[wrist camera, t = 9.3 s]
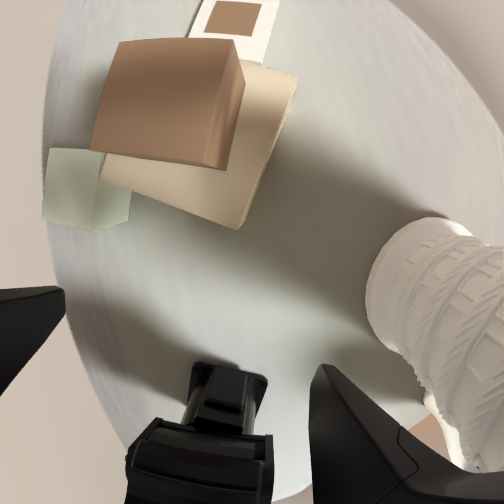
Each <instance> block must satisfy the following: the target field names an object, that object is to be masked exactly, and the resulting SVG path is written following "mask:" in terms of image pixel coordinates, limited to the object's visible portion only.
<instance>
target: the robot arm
mask: <svg viewBox="0 0 504 504" xmlns="http://www.w3.org/2000/svg"><path fill="white" fill-rule="evenodd" d="M65 312H66V306H65V292H64V290H63V289H62V288H60V287H57V286H41V287H27V288H12V289H0V396H1V395H2V394H3V392H4V391H5V390H6V388H7V387H8V386H9V384H10V383H11V382H12V381H13V379H14V378H15V377H16V376H17V374H18V373H19V372H20V371H21V369H22V368H23V367H24V366H25V365H26V363H27V362H28V361H29V360H30V359H31V358H32V356H33V355H34V354H35V353H36V352H37V351H38V349H39V348H40V347H41V346H42V345H43V344H44V342H45V341H46V340H47V338H48V337H49V335H50V334H51V333H52V331H53V330H54V329H55V327H56V326H57V324H58V323H59V322H60V321H61V319H62V318H63V317H64V315H65ZM197 367H200V368H201V369H198V368H197ZM260 382H264V383H263V384H261V383H260ZM267 386H268V380H267V379H266V378H264V377H260V376H255V375H251V374H246V373H241V372H237V371H233V370H229V369H225V368H220V367H217V366H213V365H209V364H205V363H201V362H195V363H194V365H193V367H192V372H191V379H190V386H189V393H188V401H187V408H186V410H185V413H184V415H183V418H182V420H181V423H180V424H179V423H174V422H169V421H165V420H163V419H162V418H158V417H156V418H155V419H154V420H153V421H152V422H151V423H150V424H149V425H148V427H147V428H146V429H145V430H144V431H143V432H142V433H141V434H140V436H139V437H138V438H137V439H136V440H135V441H134V442H133V443H132V445H131V446H130V447H129V448H128V454H127V455H126V456H125V461H126V466H125V469H126V471H125V472H126V477H127V480H128V486H127V493H126V498H125V503H124V504H271V500H272V494H273V485H274V450H273V435H265V436H263V435H253V431H254V421H255V418H256V415H257V412H258V410H259V407H260V405H261V402H262V399H263V397H264V394H265V391H266V388H267ZM308 428H309V443H310V455H311V469H312V485H313V501H314V502H313V503H314V504H504V471H498V472H488V473H472V472H468V471H465V470H463V469H461V468H459V467H458V466H456V465H455V464H453V463H452V462H450V461H448V460H447V459H445V458H444V457H442V456H441V455H439V454H438V453H436V452H435V451H434V450H432V449H431V448H429V447H428V446H426V445H425V444H424V443H422V442H421V441H420V440H418V439H417V438H416V437H415V436H413V435H412V434H411V433H410V432H408V431H407V430H406V429H405V428H404V427H403V426H400V424H399V423H398V422H397V421H396V420H394V419H393V418H392V417H391V416H390V415H389V414H387V413H386V412H385V411H384V410H383V409H382V408H381V407H379V406H378V405H377V404H376V403H375V402H374V401H373V400H371V399H370V398H369V397H368V396H367V395H366V394H365V393H363V392H362V391H361V390H360V389H359V388H358V387H357V386H356V385H354V384H353V383H352V382H351V381H350V380H349V379H348V378H347V377H346V376H344V375H343V374H342V373H341V372H340V371H339V370H338V369H337V368H336V367H335V366H333V365H329V364H321V365H320V366H319V367H318V369H317V371H316V374H315V376H314V378H313V380H312V383H311V386H310V399H309V427H308Z"/></svg>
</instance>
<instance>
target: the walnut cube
mask: <svg viewBox="0 0 504 504" xmlns="http://www.w3.org/2000/svg"><path fill="white" fill-rule="evenodd" d="M245 85H246V83H245V79H244V75H243V72H242V68H241V65H240V61H239V58H238V54H237V51H236V47H235V44H234V40H233V39H221V38H158V39H144V40H134V41H125V42H120V43H119V45H118V48H117V50H116V53H115V56H114V59H113V61H112V64H111V67H110V70H109V73H108V76H107V79H106V82H105V86H104V89H103V92H102V96H101V99H100V103H99V107H98V111H97V115H96V119H95V123H94V127H93V132H92V137H91V142H90V147H89V151H95V152H102V153H109V154H115V155H121V156H127V157H133V158H139V159H146V160H155V161H163V162H170V163H178V164H185V165H191V166H198V167H204V168H210V169H216V170H222V171H227V166H228V161H229V156H230V151H231V146H232V142H233V137H234V133H235V128H236V124H237V119H238V115H239V110H240V106H241V102H242V97H243V93H244V89H245Z"/></svg>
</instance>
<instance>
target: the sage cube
mask: <svg viewBox="0 0 504 504" xmlns="http://www.w3.org/2000/svg"><path fill="white" fill-rule="evenodd" d="M106 155H107V153H102V152H95V151H89V149H71V148H50V149H49V155H48V161H47V168H46V175H45V183H44V193H43V204H42V219H44V220H48V221H52V222H56V223H59V224H63V225H67V226H71V227H75V228H79V229H83V230H86V231H90V232H92V231H96V230H99V229H103V228H106V227H110V226H113V225H117V224H121V223H124V222H128V215H129V208H130V200H131V194H132V190H129V189H127V188H124V187H121V186H119V185H116V184H113V183H111V182H108V181H105V180H102V179H100V175H101V171H102V168H103V165H104V161H105V158H106Z"/></svg>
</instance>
